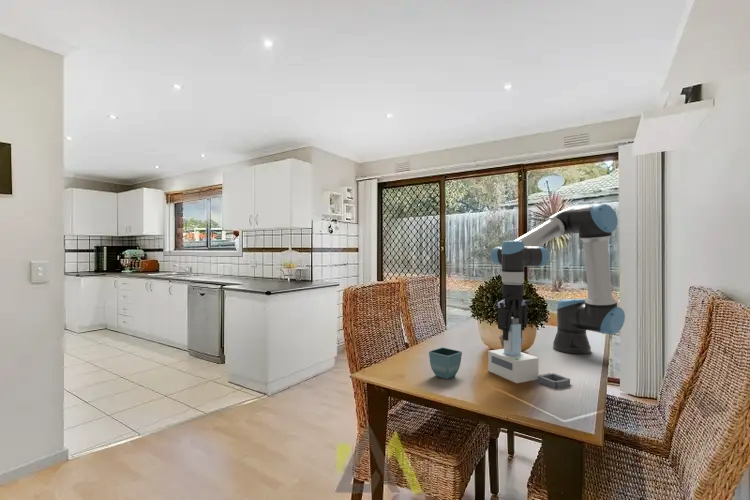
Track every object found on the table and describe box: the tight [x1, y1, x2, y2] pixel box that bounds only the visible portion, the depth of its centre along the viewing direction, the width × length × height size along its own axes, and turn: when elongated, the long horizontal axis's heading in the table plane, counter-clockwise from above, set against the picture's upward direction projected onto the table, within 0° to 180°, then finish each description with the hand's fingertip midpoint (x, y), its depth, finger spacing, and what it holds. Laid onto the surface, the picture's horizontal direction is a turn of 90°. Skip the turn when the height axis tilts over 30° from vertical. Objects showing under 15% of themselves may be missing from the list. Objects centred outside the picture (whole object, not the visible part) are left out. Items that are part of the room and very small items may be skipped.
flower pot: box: [428, 347, 463, 380], centre depth 133 cm, size 9×9×9 cm
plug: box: [504, 316, 522, 357], centre depth 132 cm, size 4×4×15 cm
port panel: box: [487, 348, 540, 384], centre depth 132 cm, size 10×14×8 cm
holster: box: [535, 372, 573, 390], centre depth 124 cm, size 8×8×2 cm
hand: (512, 348), depth 132 cm, fingers closed on plug, 4 cm apart
